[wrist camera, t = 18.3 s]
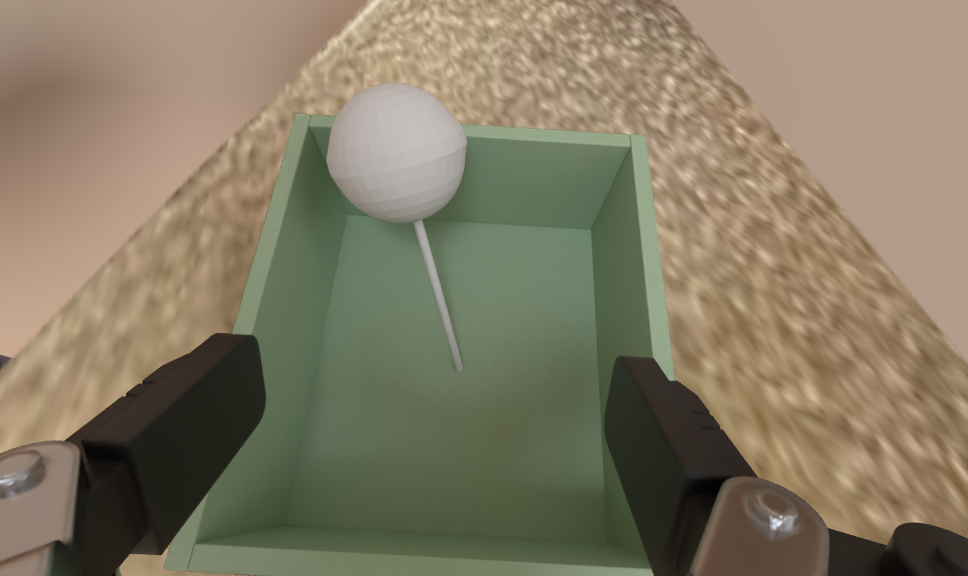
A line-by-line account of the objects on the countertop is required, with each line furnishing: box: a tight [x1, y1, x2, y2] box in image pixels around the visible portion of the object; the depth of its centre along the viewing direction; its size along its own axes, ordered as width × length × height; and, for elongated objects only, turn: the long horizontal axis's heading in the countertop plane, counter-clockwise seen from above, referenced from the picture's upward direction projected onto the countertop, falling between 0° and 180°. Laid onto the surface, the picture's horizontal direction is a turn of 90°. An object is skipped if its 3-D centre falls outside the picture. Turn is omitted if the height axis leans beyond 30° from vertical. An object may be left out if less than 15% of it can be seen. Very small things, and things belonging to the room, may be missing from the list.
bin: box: [164, 113, 675, 576], centre depth 23 cm, size 18×20×9 cm
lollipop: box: [326, 83, 467, 372], centre depth 22 cm, size 6×6×15 cm
